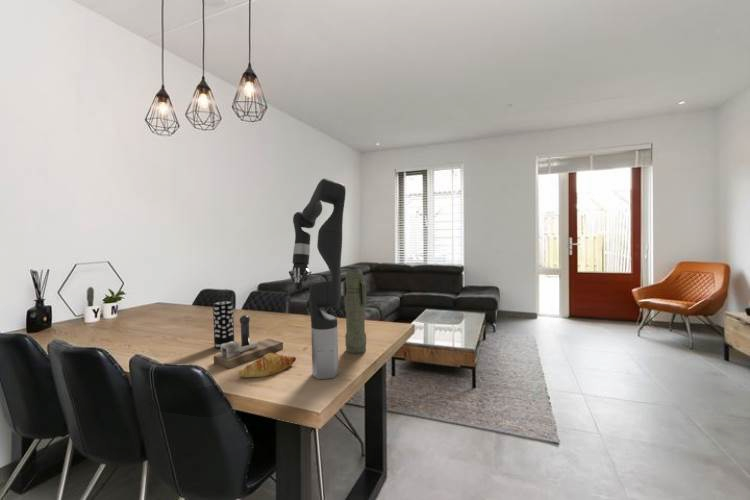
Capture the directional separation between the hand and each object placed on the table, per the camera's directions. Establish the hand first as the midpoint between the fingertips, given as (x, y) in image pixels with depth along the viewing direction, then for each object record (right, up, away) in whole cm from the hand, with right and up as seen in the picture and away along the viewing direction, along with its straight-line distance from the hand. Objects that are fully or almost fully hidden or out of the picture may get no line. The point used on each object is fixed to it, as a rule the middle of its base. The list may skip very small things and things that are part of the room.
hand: (298, 291), depth 153 cm
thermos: (+27, -25, -11) cm, 38 cm away
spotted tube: (-33, -25, -2) cm, 42 cm away
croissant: (-4, -26, -31) cm, 41 cm away
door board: (-17, -25, -15) cm, 34 cm away
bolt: (-18, -22, -18) cm, 34 cm away
